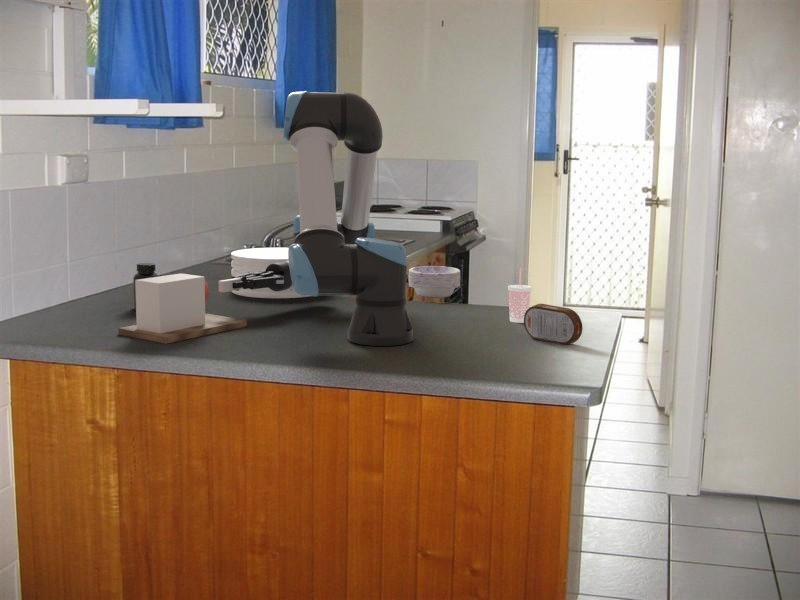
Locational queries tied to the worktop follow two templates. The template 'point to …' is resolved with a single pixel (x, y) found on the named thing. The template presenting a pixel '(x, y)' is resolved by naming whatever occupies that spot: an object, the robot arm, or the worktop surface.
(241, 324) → the board
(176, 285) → the block
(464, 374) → the worktop surface
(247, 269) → the plate stack
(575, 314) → the tin
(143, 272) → the supplement bottle
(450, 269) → the paper bowls
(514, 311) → the beverage cup
